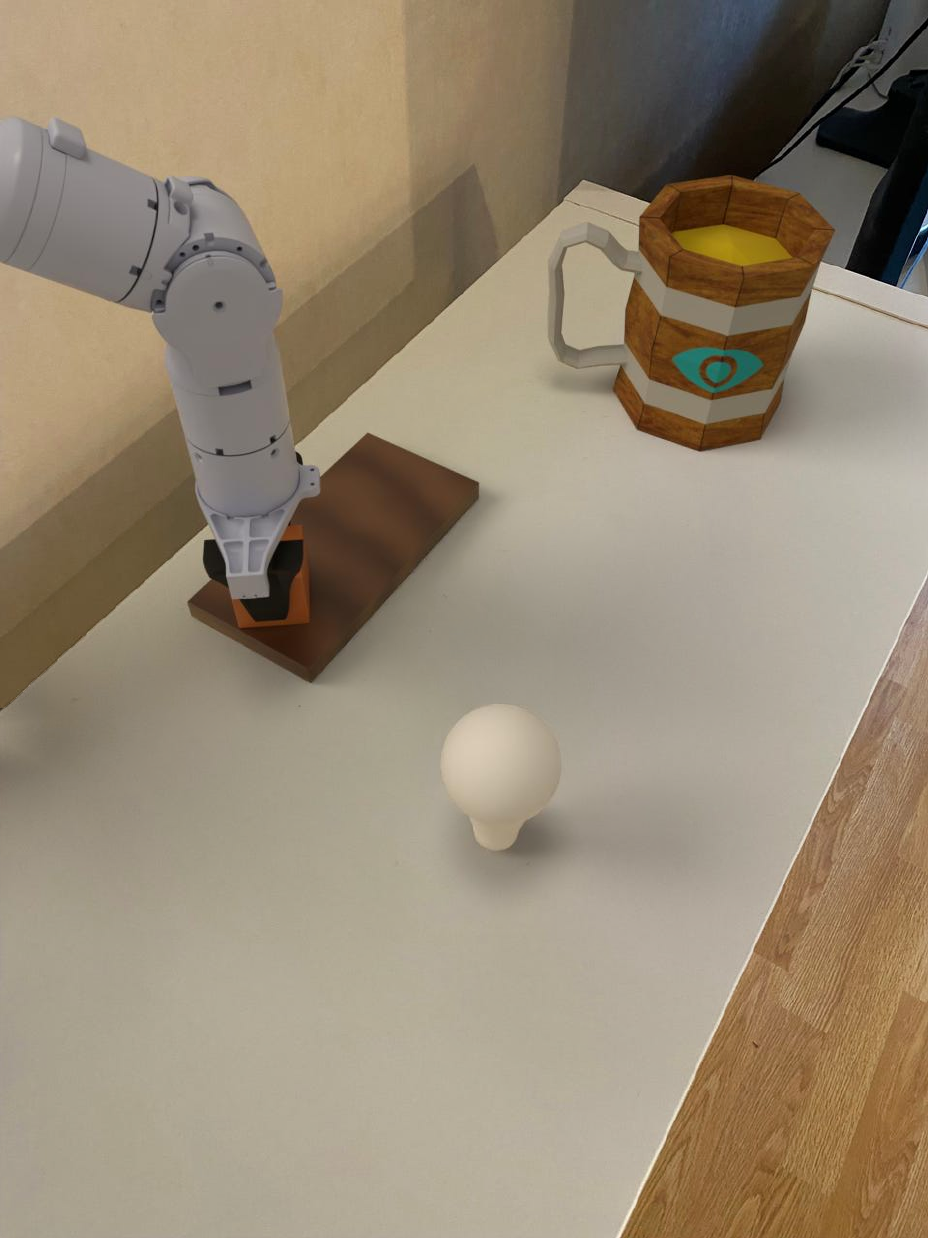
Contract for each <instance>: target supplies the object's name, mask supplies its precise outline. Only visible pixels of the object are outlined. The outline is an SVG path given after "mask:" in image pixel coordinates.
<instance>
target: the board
mask: <svg viewBox="0 0 928 1238" xmlns="http://www.w3.org/2000/svg"><path fill="white" fill-rule="evenodd" d="M479 498H480V481H477V480H475V479H473V478H470V477H468V476H466V475H463V474H461V473H459V472H458V471H455V470H453V469H450V468H448V467H446V466H444V465H441V464H439V463H438V462H434V461H432V460H430V459H428V458H426V457H423V456H421V455H419V454H417V453H415V452H412V451H411V450H408V449H406V448H403V447H401V446H399V445H396V444H395V443H392V442H390V441H389V440H385V439H383V438H381V437H379V436H377V435H374V434H373V433H370V432H366V433H365V434H364V435H363V436H362V437H361V438H360V439H359V440H358V441H357V442H356V443H354V444H353V445H352V446H351V447H350V448H349V449H348V450H347V451H346V452H345V453H344V454H343V455H341V456H340V458H339V459H337V460H336V461H335V462H334V463H333V464H332V465H331V466H330V467H329V468H328V469H327V470H326V471H324V473H323V474H322V475H320V493H319V494H318V495H317V496H315V497H308V498H303V499H302V500H301V501H300V502H299V504H298V506H297V508H296V510H295V512H294V514H293V516H292V518H291V521H290V526H291V525H302V529H303V535H304V542H305V548H306V554H307V560H308V567H309V591H310V623H306V624H292V625H278V626H264V627H251V628H239V626H238V622H237V618H236V614H235V610H234V606H233V602H232V599H231V595H230V591H229V588H227V587H226V586H224V585H223V584H221V583H219V582H217V581H215V580H213V579H211V578H210V579H209V580H208V581H207V583H205V584H204V585H203V586H202V587H201V588H199V590H198V591H197V592H196V593H194V595H193V596H192V597H190V598H189V599H188V600H187V601H186V603H187V606H188V609H189V612H190V616H191V617H192V618H194V619H196V620H198V621H199V622H201V623H203V624H205V625H206V626H208V627H210V628H212V629H214V630H216V631H217V632H219V633H221V634H223V635H224V636H226V637H228V638H230V639H232V640H233V641H235V642H236V643H239V644H240V645H242V646H244V647H245V648H248V649H249V650H251V651H252V652H255V653H257V654H258V655H260V656H261V657H263V658H265V659H267V660H269V661H271V662H272V663H274V664H276V665H278V666H279V667H281V668H282V669H285V670H287V671H289V672H290V673H292V674H293V675H295V676H297V677H299V678H301V679H302V680H304V681H306V682H308V683H309V684H310V683H312V682H313V681H314V680H315V679H316V678H317V677H318V676H319V674H321V672H322V671H323V670H324V669H325V668H326V667H327V666H328V665H329V664H330V662H331V661H332V660H333V659H334V658H335V657H336V656H337V655H338V654H339V653H340V651H341V650H342V649H343V648H344V647H345V646H346V645H347V644H348V643H349V641H350V640H351V639H352V638H353V637H354V636H355V635H356V634H357V633H358V631H359V630H360V629H361V628H362V627H363V626H364V625H365V624H366V623H367V622H368V620H369V619H370V618H371V617H372V616H373V615H374V613H376V611H378V610H379V608H380V607H381V606H382V605H383V604H384V602H386V601H387V599H388V598H389V597H390V596H391V595H392V594H393V593H394V591H395V590H396V589H398V587H399V586H400V585H401V584H402V583H403V582H404V581H405V579H406V578H407V577H408V576H409V575H411V573H412V572H413V570H414V569H415V568H417V566H418V565H419V564H420V563H421V562H422V561H423V559H425V558H426V556H427V555H428V554H429V553H430V552H431V551H432V549H434V548H435V547H436V545H438V543H439V542H440V541H441V540H442V539H443V537H444V536H445V535H446V534H447V533H448V532H449V531H450V530H451V529H452V527H454V525H455V524H456V523H457V522H458V521H459V520H460V519H461V517H463V515H464V514H465V513H466V512H467V511H468V510H469V509H470V508H471V506H472V505H473V504H474V503H475V502H476V501H477V500H478V499H479Z"/></svg>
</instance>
